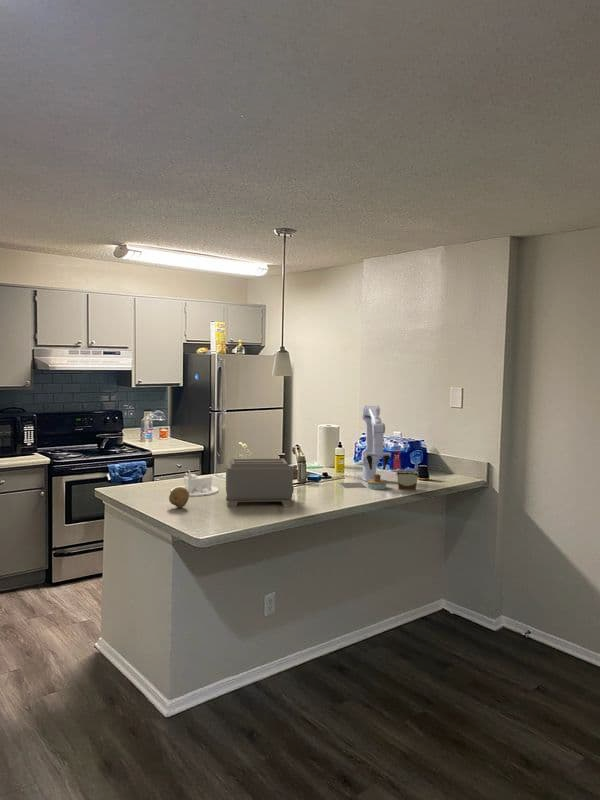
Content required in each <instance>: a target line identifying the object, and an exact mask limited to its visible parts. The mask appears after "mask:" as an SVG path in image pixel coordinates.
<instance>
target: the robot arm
mask: <svg viewBox="0 0 600 800" xmlns="http://www.w3.org/2000/svg"><path fill="white" fill-rule="evenodd" d="M380 413H381V408H380V405H362V407H361V417H362V420H363V421H364V422H365V447H366V448H364V449H363V450H362V451H361V457H360V459H361V460H360V461H361V465H363V466H362V476H361V477H360V478H361V479H362V480H363V481H364V482H367V480H369V479H374V474H377V466H378V465H379V463H380V457H382V470H386V467H387V464H388V462H389V461H390V458H391V457H392V452H388V451H387V452H386V451H385V452H384V438H385V437H384V435H385V433H386V424H385V423H384V422H382V419H381V417H380Z"/></svg>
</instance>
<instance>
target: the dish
mask: <svg viewBox="0 0 600 800" xmlns="http://www.w3.org/2000/svg"><path fill="white" fill-rule="evenodd" d="M187 471H188V472H185V476H183V485H179V486H174V487H173V488H171V489H170V491H171V492H172V490H173V489H175V488H177V487H183V488H185V489H186V490H187V491H188V492H189V497H205V496H204V495H207V496H212V495H216V494H218V493H219V488H218V487H217V486H213V484H212V483H213V477H212V476H198V475H196V474H195V473H191V471H190V470H189V469H187ZM171 492H170V493H171ZM217 492H218V493H217ZM211 494H212V495H211Z"/></svg>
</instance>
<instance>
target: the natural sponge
mask: <svg viewBox="0 0 600 800" xmlns="http://www.w3.org/2000/svg"><path fill="white" fill-rule="evenodd" d="M176 487H177V488H175V489H173V490H172V492H170V494H169V496H168V501H169V503H170V504H171V505H174V506H175V507H176V508H178V509H182V508H184V507H185V506H186V505H187V503H188V501H189V498H190V496H189V492H188V491H187V490H186V489H185V488H183V487H178V486H176Z"/></svg>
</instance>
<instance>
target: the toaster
mask: <svg viewBox="0 0 600 800" xmlns="http://www.w3.org/2000/svg"><path fill="white" fill-rule="evenodd" d="M297 469H298V465H297V464H294V465H289V464H288V462H287V461H286V459H285V458H231V459H230V460H229V461H228V462H226V463H225V492H226V496H225V500H226V501H227V503H226V507H227V508H236V507H237V505H238V503H240V502H241V503H242V502H243V503H247V502H248V503H250V502H251V503H253V502H255V503H256V502H281V504H282V506H283V505H292V502H291V500H292V498H293V494H294V484H293V483H294V482H293V481H294V480H293V479H294V474H293V471H295V470H297ZM292 506H293V505H292Z"/></svg>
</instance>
